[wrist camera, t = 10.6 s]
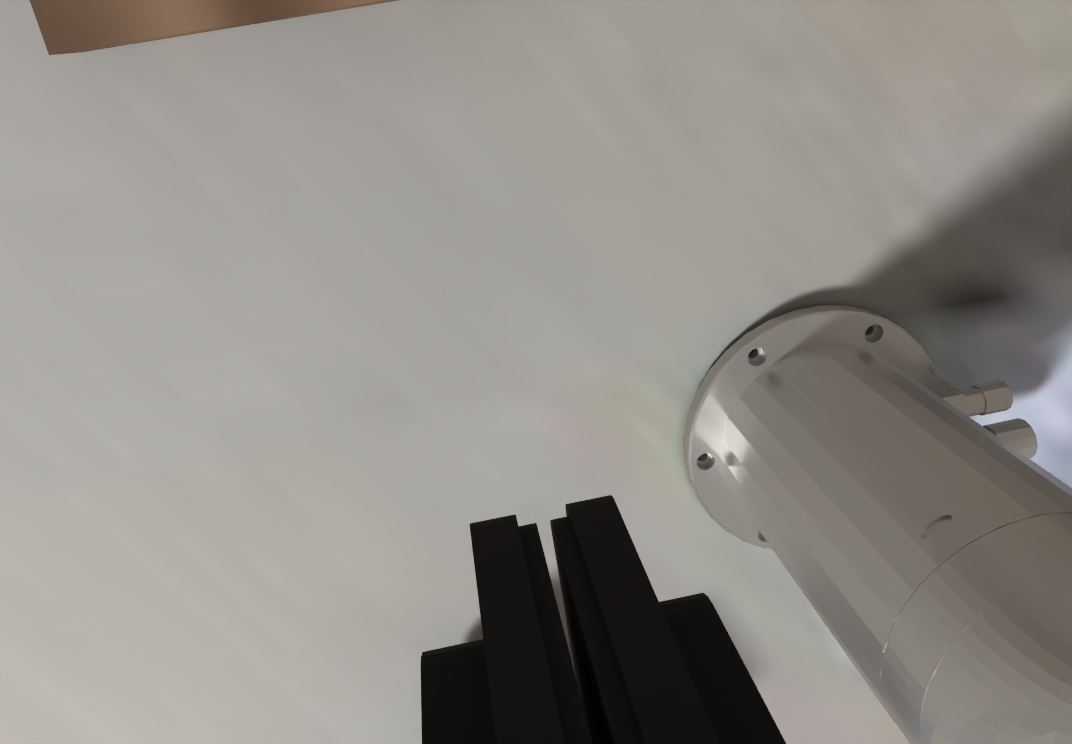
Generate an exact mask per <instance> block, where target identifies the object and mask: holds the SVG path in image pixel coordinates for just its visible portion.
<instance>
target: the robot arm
mask: <svg viewBox="0 0 1072 744" xmlns="http://www.w3.org/2000/svg"><path fill="white" fill-rule="evenodd" d="M753 349H754V352H753V353H752V354H750V355H749V353H750V352H751V351H752V350H753ZM1012 402H1013V399H1012V393H1011V391H1010V388H1009V386H1008V385H1007V384H1006V383H1005V382H1002V381H995V382H990V383H985V384H981V385H976V386H973V387H972V388H968V389H964V390H959V391H958V390H957V389H956V388H955V387H953V386H950V385H948V384H947V383H945V382H944V381H942V380H941V379H939V378H938V375H937V373H936V370H935V367H934V364H933V362H932V361H931V359H930V357H929V356H928V354H927V353H926V351H925V350H924V348H923V347H922V345H921V344H920V343H919V342H918V341H917V340H916V339H915V338H913V337H912V336H911V335H910V334H909V333H908V332H907V331H906V330H905V329H903V328H901V327H900V326H898V325H897V324H895V323H894V322H892V321H890V320H889V319H887V318H885V317H882V316H880V315H878V314H876V313H873V312H871V311H869V310H866V309H861V308H855V307H850V306H845V305H819V306H813V307H808V308H803V309H798V310H793V311H791V312H788V313H786V314H783V315H781V316H778V317H775V318H773V319H770V320H768V321H767V322H765V323H763V324H762V325H760V326H758V327H756V328H755V329H753V330H751V331H750V332H748V333H746V334H745V335H744V336H743V337H742V338H740V339H739V340H738V341H737V342H736V343H735V344H733V345H732V346H731V347H730V348H729V349H727V350H726V351H725V352H724V354H723V355H722V356H721V357H720V358H719V359H718V361H717V362H716V363H715V364H714V365H713V367H712V368H711V369H710V370H709V371H708V373H707V375H706V376H705V378H704V380H703V381H702V383H701V385H700V387H699V388H698V390H697V392H696V393H695V396H694V399H693V401H692V404H691V407H690V410H689V412H688V415H687V419H686V425H685V432H684V438H683V447H684V463H685V467H686V471H687V474H688V478H689V482H690V484H691V486H692V488H693V490H694V492H695V493H696V495H697V497H698V499H699V501H700V502H701V504H702V505H703V507H704V508H705V509H706V511H707V512H708V514H709V515H710V517H711V518H712V519H713V520H715V521H716V522H717V523H718V524H719V525H720V526H721V527H722V528H723V529H724V530H725V531H727V532H729V533H730V534H732V535H734V536H736V537H737V538H739V539H741V540H743V541H745V542H748V543H750V544H753V545H756V546H759V547H763V548H770V549H773V551H774V552H775V553H776V555H777V556H778V558H779V559H780V561H781V562H782V563H783V565H784V566H785V568H786V569H787V571H788V572H789V573H790V575H791V576H792V578H793V579H794V580H795V582H796V583H797V585H798V586H799V588H800V589H801V590H802V592H803V593H804V595H805V596H806V598H807V599H808V600H809V602H810V603H811V605H812V606H813V607H814V609H815V610H816V612H817V613H818V615H819V616H820V617H821V619H822V620H823V622H824V623H825V625H826V626H827V627H828V629H829V630H830V632H831V633H832V634H833V636H834V637H835V639H836V640H837V642H838V643H839V644H840V646H841V647H842V649H843V650H844V652H845V653H846V654H847V656H848V657H849V659H850V660H851V661H852V663H853V664H854V666H855V667H856V669H857V670H858V671H859V673H860V674H861V676H862V677H863V678H864V680H865V681H866V683H867V684H868V686H869V687H870V688H871V690H872V691H873V693H874V694H875V696H876V697H877V698H878V700H879V701H880V703H881V704H882V705H883V707H884V708H885V710H886V711H887V713H888V714H889V715H890V717H891V718H892V720H893V721H894V722H895V723H896V724H897V726H898V727H899V729H900V730H901V731H902V733H903V734H904V736H905V737H906V739H907V740H908V741H909V743H910V744H1072V488H1071V487H1069V486H1068V485H1066V484H1065V483H1063V482H1062V481H1060V480H1059V479H1058V478H1056V477H1055V476H1053V475H1052V474H1050V473H1049V472H1047V471H1046V470H1045V469H1043V468H1042V467H1040V466H1039V465H1037V464H1036V463H1034V462H1033V461H1032V460H1030V458H1032V457H1033V456H1034V455H1035V454H1036V450H1037V440H1036V435H1035V433H1034V431H1033V429H1032V427H1031V426H1030V425H1029V424H1028V423H1027V422H1026V421H1025V420H1022V419H1019V418H1017V419H1013V420H1008V421H1003V422H999V423H994V424H989V425H984V426H981V425H980V424H978V423H977V422H975V421H974V420H972V419H971V418H970V417H969V416H974V415H986V414H991V413H996V412H1000V411H1005V410H1008V409H1009V408H1011V405H1012ZM702 454H703V455H702ZM700 455H702V456H700ZM566 515H567V517H563V518H558V519H554V520H551V530H552V536H553V542H554V548H555V554H556V560H557V566H558V572H559V578H560V584H561V590H562V596H563V602H564V608H565V615H566V621H567V627H568V633H569V639H570V645H571V651H572V657H573V663H574V669H575V673H574V669H573V665H572V661H571V657H570V653H569V650H568V646H567V642H566V638H565V634H564V630H563V626H562V622H561V618H560V614H559V610H558V606H557V603H556V599H555V595H554V591H553V587H552V583H551V579H550V575H549V571H548V567H547V563H546V559H545V556H544V552H543V548H542V544H541V540H540V536H539V532H538V528H537V525H536V523H534V524H529V525H524V526H519V527H518V523H517V519H516V515H510V516H505V517H500V518H495V519H490V520H486V521H481V522H476V523H471V524H470V531H471V539H472V547H473V556H474V564H475V572H476V581H477V589H478V597H479V606H480V614H481V622H482V630H483V640H478V641H473V642H468V643H464V644H459V645H454V646H450V647H445V648H440V649H435V650H431V651H426V652H423V653H422V656H421V706H422V744H786V743H785V741H784V739H783V737H782V735H781V733H780V731H779V729H778V727H777V725H776V724H775V722H774V720H773V718H772V716H771V714H770V712H769V710H768V708H767V706H766V705H765V703H764V701H763V699H762V697H761V695H760V693H759V691H758V689H757V687H756V686H755V684H754V682H753V680H752V678H751V676H750V674H749V672H748V670H747V668H746V667H745V665H744V663H743V661H742V659H741V657H740V655H739V653H738V651H737V649H736V648H735V646H734V644H733V642H732V640H731V638H730V636H729V634H728V632H727V630H726V629H725V627H724V625H723V623H722V621H721V619H720V617H719V615H718V613H717V611H716V610H715V608H714V606H713V604H712V602H711V601H710V599H709V598H708V596H707V595H705V594H704V593H700V594H695V595H691V596H686V597H681V598H676V599H672V600H667V601H662V602H658V599H657V597H656V595H655V592H654V590H653V588H652V586H651V583H650V581H649V579H648V576H647V574H646V572H645V569H644V567H643V565H642V562H641V560H640V558H639V556H638V553H637V551H636V549H635V546H634V544H633V542H632V539H631V537H630V535H629V533H628V530H627V528H626V526H625V523H624V521H623V519H622V516H621V514H620V512H619V510H618V507H617V505H616V503H615V500H614V498H613V497H612V496H611V495H609V496H604V497H599V498H595V499H590V500H585V501H580V502H575V503H570V504H566ZM575 675H576V677H575Z"/></svg>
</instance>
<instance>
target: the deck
mask: <svg viewBox="0 0 1072 744" xmlns="http://www.w3.org/2000/svg"><path fill="white" fill-rule="evenodd" d="M391 1H397V0H30V2H31V5H32V8H33V11H34V14H35V16H36V19H37V22H38V25H39V28H40V30H41V33H42V36H43V39H44V42H45V45H46V47H47V50H48V53H49V55H54V54H66V53H77V52H85V51H91V50H97V49H103V48H110V47H116V46H122V45H128V44H134V43H140V42H146V41H152V40H158V39H165V38H171V37H177V36H183V35H189V34H195V33H201V32H207V31H213V30H220V29H226V28H232V27H238V26H244V25H250V24H256V23H262V22H269V21H275V20H281V19H287V18H293V17H299V16H305V15H311V14H317V13H324V12H330V11H336V10H342V9H348V8H354V7H360V6H366V5H372V4H379V3H385V2H391Z"/></svg>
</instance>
